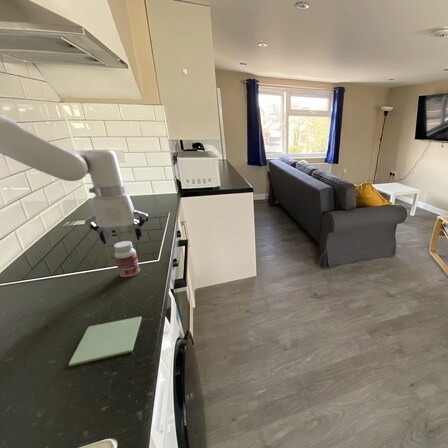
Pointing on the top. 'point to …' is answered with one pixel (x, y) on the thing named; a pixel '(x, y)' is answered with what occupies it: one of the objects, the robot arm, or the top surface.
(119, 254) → the pill bottle
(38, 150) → the robot arm
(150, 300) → the top surface
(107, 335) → the mat
